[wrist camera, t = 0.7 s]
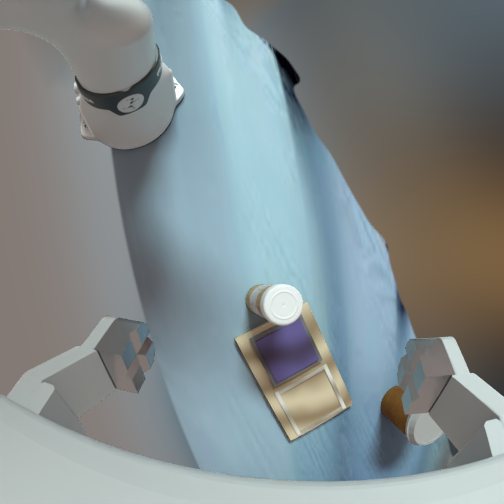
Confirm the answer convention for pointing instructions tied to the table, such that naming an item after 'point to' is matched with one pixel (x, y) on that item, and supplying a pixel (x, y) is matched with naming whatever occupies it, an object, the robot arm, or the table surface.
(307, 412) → the stamp station
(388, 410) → the disposable coffee cup
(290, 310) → the sprinkles bottle
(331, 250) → the table surface
